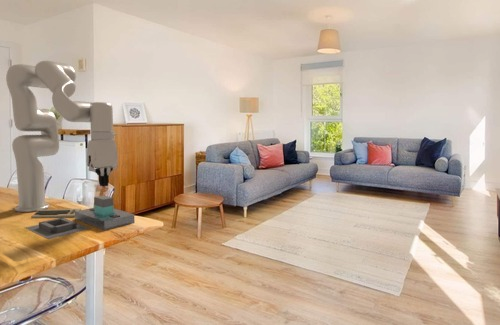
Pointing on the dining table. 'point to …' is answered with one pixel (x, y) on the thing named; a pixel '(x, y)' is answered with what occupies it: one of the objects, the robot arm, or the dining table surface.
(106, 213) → the plug
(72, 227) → the plate
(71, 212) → the computer
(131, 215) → the port block
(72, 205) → the dining table surface
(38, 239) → the dining table surface
